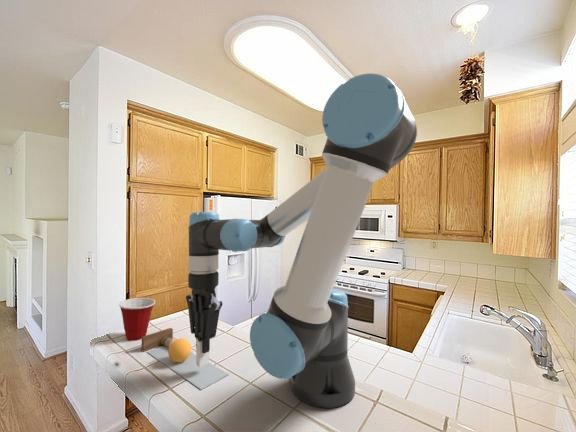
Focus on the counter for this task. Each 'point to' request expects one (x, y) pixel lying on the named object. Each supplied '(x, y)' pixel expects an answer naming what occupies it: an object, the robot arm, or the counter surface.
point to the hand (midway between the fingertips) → (202, 363)
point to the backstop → (155, 339)
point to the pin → (167, 341)
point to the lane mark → (190, 368)
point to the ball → (179, 350)
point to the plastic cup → (136, 317)
